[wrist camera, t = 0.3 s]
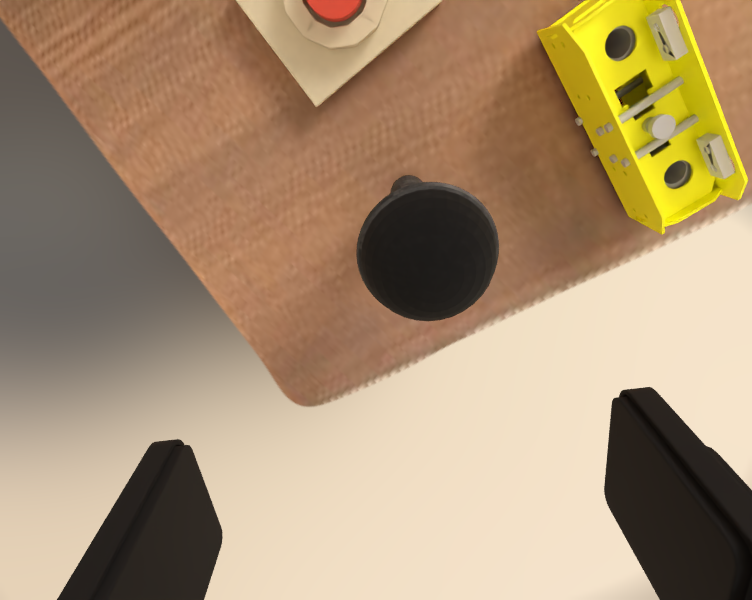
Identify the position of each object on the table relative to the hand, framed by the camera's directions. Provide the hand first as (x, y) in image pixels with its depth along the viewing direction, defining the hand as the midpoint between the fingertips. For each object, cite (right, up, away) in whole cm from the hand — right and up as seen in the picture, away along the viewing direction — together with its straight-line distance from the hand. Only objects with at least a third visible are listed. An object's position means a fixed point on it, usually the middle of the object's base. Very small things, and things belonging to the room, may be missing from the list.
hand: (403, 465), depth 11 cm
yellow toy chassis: (+17, +18, +26) cm, 36 cm away
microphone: (+2, +13, +28) cm, 31 cm away
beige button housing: (-3, +24, +22) cm, 33 cm away
